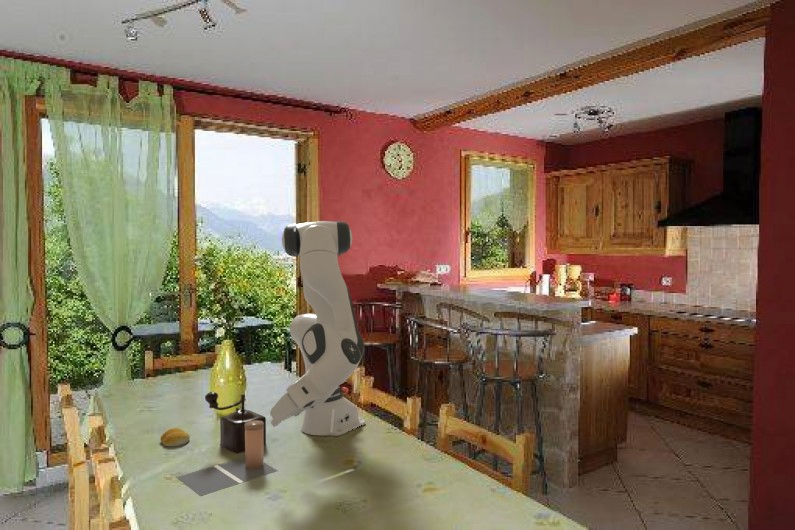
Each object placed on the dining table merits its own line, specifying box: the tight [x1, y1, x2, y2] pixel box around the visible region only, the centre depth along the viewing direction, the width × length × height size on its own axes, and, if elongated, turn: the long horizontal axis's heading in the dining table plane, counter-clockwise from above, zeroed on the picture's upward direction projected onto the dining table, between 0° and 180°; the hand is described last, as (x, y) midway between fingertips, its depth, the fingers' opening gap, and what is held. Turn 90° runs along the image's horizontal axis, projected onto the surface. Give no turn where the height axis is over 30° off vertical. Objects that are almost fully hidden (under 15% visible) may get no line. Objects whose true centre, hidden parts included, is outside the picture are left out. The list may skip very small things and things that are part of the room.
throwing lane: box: [175, 456, 279, 497], centre depth 147 cm, size 22×15×1 cm
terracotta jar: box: [244, 420, 265, 469], centre depth 153 cm, size 5×5×12 cm
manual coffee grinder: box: [204, 391, 267, 454], centre depth 167 cm, size 16×11×18 cm
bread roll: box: [159, 427, 190, 447], centre depth 172 cm, size 8×9×4 cm
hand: (284, 418), depth 148 cm, fingers open, 8 cm apart
